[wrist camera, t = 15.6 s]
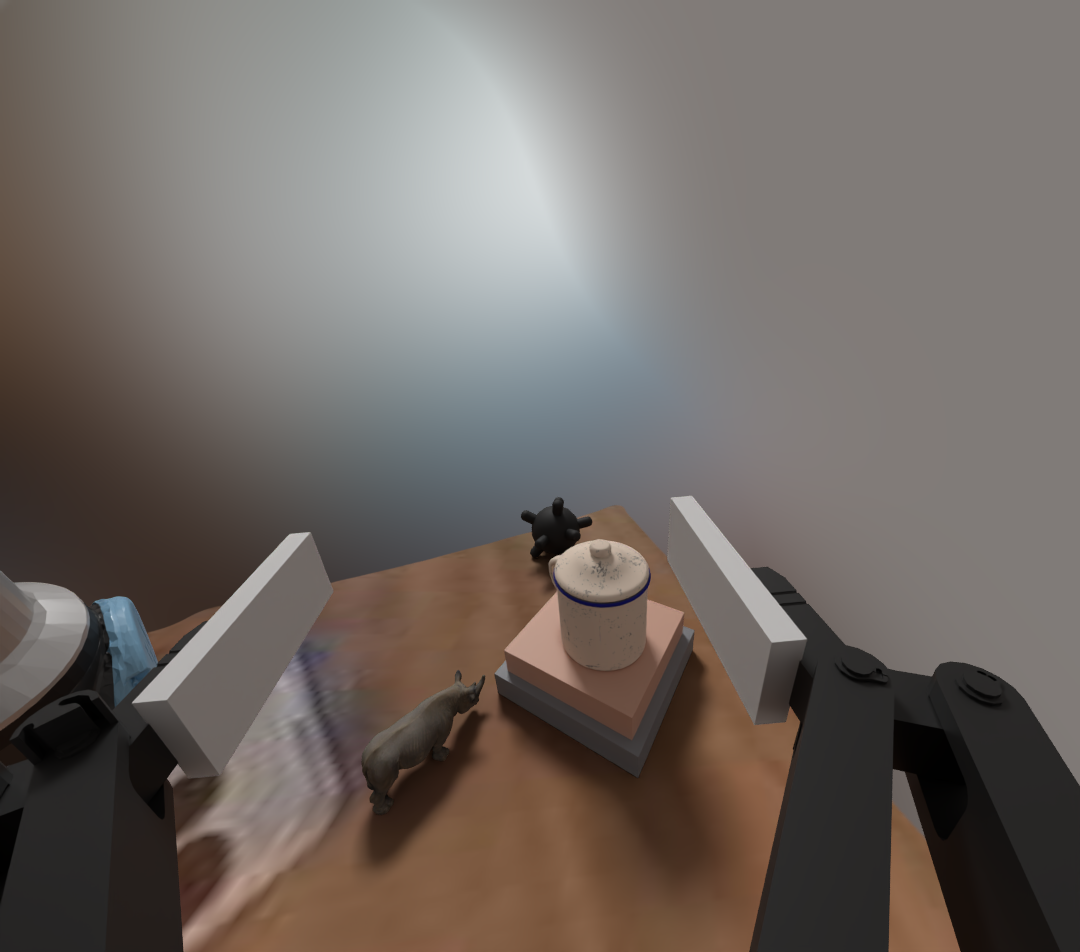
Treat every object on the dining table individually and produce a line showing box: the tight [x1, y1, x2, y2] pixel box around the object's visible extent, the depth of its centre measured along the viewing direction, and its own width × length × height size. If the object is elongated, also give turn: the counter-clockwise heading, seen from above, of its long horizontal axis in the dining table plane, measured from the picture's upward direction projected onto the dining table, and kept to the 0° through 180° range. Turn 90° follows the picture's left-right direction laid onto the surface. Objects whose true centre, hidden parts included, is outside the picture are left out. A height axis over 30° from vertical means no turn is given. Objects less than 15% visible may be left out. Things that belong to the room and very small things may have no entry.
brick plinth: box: [495, 592, 694, 778], centre depth 45 cm, size 16×16×6 cm
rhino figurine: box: [362, 670, 485, 815], centre depth 39 cm, size 4×14×6 cm, turn 137°
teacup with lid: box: [549, 539, 651, 671], centre depth 41 cm, size 12×9×12 cm
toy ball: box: [521, 497, 592, 558], centre depth 65 cm, size 11×11×12 cm
